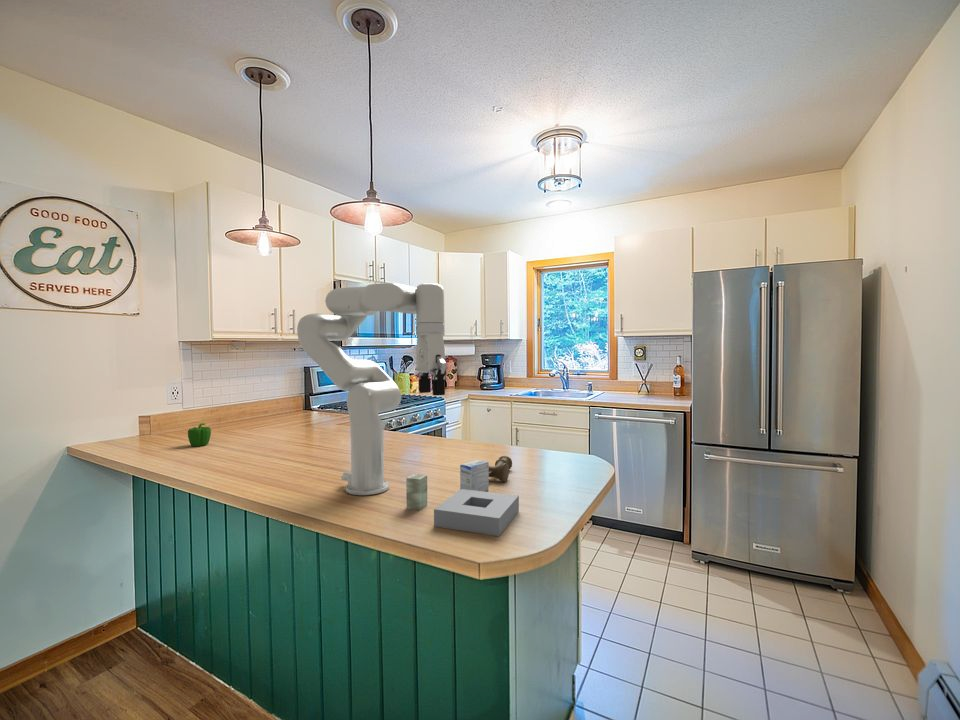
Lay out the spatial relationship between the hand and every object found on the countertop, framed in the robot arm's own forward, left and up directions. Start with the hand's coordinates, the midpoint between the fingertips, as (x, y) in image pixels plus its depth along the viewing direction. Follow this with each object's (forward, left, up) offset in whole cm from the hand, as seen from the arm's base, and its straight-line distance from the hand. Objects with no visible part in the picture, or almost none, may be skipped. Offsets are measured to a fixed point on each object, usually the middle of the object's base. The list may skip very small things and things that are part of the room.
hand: (431, 393), depth 117 cm
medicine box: (+8, +12, -30) cm, 33 cm away
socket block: (+16, -6, -29) cm, 34 cm away
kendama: (+9, +29, -30) cm, 42 cm away
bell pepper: (-129, +30, -30) cm, 136 cm away
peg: (-2, -4, -29) cm, 30 cm away
